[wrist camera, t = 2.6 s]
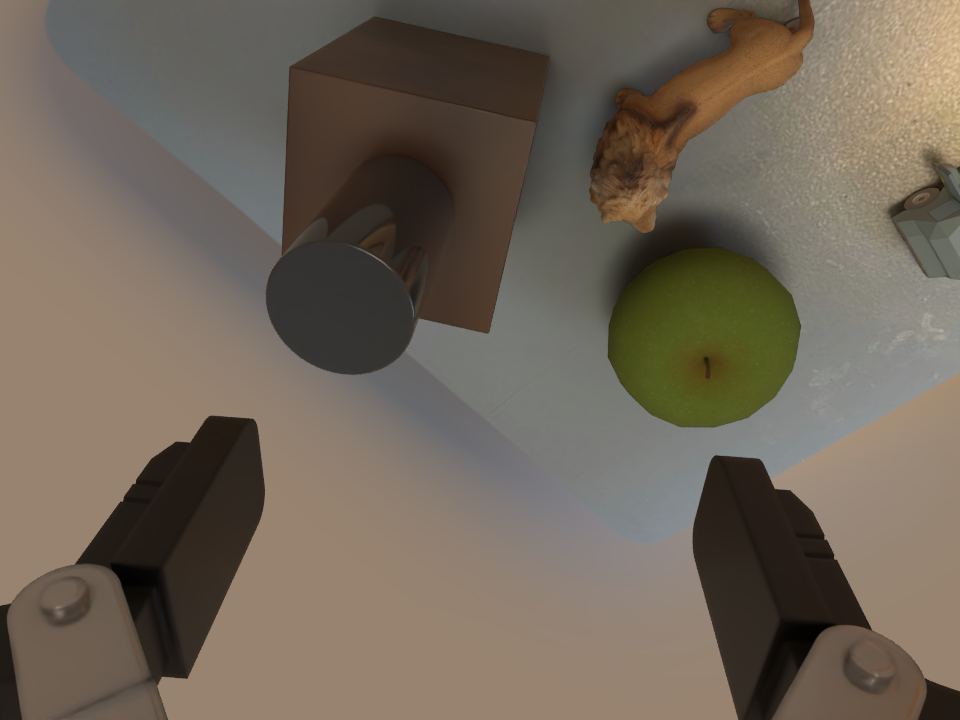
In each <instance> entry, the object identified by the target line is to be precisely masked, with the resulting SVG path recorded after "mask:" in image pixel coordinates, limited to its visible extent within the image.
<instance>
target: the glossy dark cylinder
mask: <svg viewBox="0 0 960 720" xmlns="http://www.w3.org/2000/svg"><path fill="white" fill-rule="evenodd" d="M454 220H455V211H454V205H453V201H452V198H451V195H450V193H449V191H448V189H447V187H446V185H445V184H444V182H443V181H442V180H441V178H440V177H439V176H438V175H437V174H436V173H435V172H434V171H433V170H431V169H430V168H429V167H428V166H426V165H424V164H423V163H421V162H419V161H417V160H415V159H412V158H409V157H405V156H400V155H382V156H378V157H374V158H371V159H369V160H367V161H365V162H363V163H362V164H360V165H359V166H358V167H356V168H355V169H354V170H353V171H352V173H351V174H350V175H349V176H348V177H347V178H346V180H345V181H344V182H343V183H342V185H341V186H340V187H339V188H338V189H337V191H336V192H335V193H334V194H333V195H332V197H331V198H330V199H329V200H328V201H327V203H326V204H325V205H324V206H323V207H322V209H321V210H320V211H319V212H318V214H317V215H316V216H315V217H314V218H313V220H312V221H311V222H310V223H309V224H308V226H307V227H306V228H305V229H304V230H303V232H302V233H301V234H300V235H299V236H298V238H297V239H296V240H295V241H294V243H293V244H292V245H291V246H290V247H289V249H288V250H287V251H286V252H285V253H284V255H283V256H282V257H281V258H280V259H279V261H278V262H277V263H276V265H275V266H274V268H273V269H272V272H271V274H270V276H269V279H268V283H267V289H266V305H267V310H268V314H269V317H270V320H271V323H272V325H273V327H274V329H275V330H276V332H277V334H278V335H279V337H280V338H281V339H282V340H283V342H284V343H285V344H286V345H287V346H288V347H289V348H290V349H291V350H292V351H293V352H294V353H295V354H297V355H298V356H299V357H300V358H302V359H304V360H305V361H306V362H308V363H310V364H312V365H314V366H316V367H318V368H321V369H323V370H326V371H330V372H333V373H339V374H349V375H357V374H365V373H371V372H374V371H377V370H380V369H382V368H384V367H386V366H388V365H389V364H391V363H392V362H394V361H395V360H396V359H397V358H399V357H400V356H401V354H402V353H403V352H404V351H405V350H406V348H407V346H408V345H409V343H410V341H411V338H412V336H413V333H414V331H415V328H416V325H417V323H418V320H419V318H420V315H421V312H422V310H423V307H424V305H425V302H426V299H427V297H428V294H429V292H430V289H431V286H432V284H433V281H434V278H435V276H436V273H437V271H438V268H439V265H440V263H441V260H442V258H443V255H444V252H445V250H446V247H447V245H448V242H449V239H450V237H451V234H452V231H453V227H454Z"/></svg>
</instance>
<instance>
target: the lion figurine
mask: <svg viewBox="0 0 960 720" xmlns="http://www.w3.org/2000/svg"><path fill="white" fill-rule="evenodd" d="M798 5H799V15H800V19H795V20H793V21H791V22H789V23H788V24H787V25H785V26H784V25H782V24H779V23H777V22H774V21H772V20H768V19H764V18H756V19H755V17H756V15H755V13H754V12H753V11H740V10H734V9H730V8H720V9H716V10H714V11H712V12H711V13H710V15H709V17H708V20H707V22H708V25H709V27H710V29H711V30H712V31H713V32H714V33H720V32H723V31H725V30H727V29H729V28H730V27H732V28H731V30H730V32H729V36H730V39H731V46H730V48H729V49H728V50H726V51H725V52H723V53H721V54H719V55H716V56H713V57H711V58H708V59H705V60H703V61H700V62H698V63H695V64H693V65H691V66H690V67H688V68H686V69H685V70H683V71H682V72H680V73H679V74H678V75H676V76H675V77H674V78H672V79H671V80H669V81H668V82H666V83H665V84H664V85H663V86H661V87H660V88H659V89H658V90H657V91H656V92H655V93H654V94H653V95H652V96H643V95H642V93H640V92H638V91H637V90H634V89H622V90H621V91H619V92H618V93H617V96H616V100H615V101H616V106H617V108H619V109H620V110H621V111H619V112H618V113H617V114H616V115H615V116H614V117H613V119H612V120H611V121H609V122H607V123H606V127H605V129H604V132H603V135H602V138H601V139H599V141H598V144H597V148H596V152H595V154H594V157H593V160H594V163H593V166H592V168H591V171H590V177H591V179H592V181H591V188H590V190H589V191H590V194H591V199H590V200H591V201H592V202H593V203H594V204H596V205H597V207H598V209H599V212H600V213H602V216H601V217H602V221H603V223H609V222H611V221H613V220H615V221H621V220H623V221H625V222H628V223H630V224H631V226H633V227H634V228H635V229H637V230H639V231H640V232H650V231H652V230H653V229H654V227H655V220H656V211H655V210H656V207H657V205H658V204H659V203H660V202H661V201H662V200H664V199H665V198H666V197H667V196H668V191H667V188H668V186H669V182H670V181H671V179H672V171H673V170H674V168H675V165H676V161H677V157H678V154H679V153H680V152H681V150H682V149H683V148H684V147H685V145H686V143H687V141H688V140H689V139H691V138H693V137H694V136H696V135H698V134H699V133H701V132H703V131H704V130H706V129H707V128H709V127H710V126H711V125H713V124H714V123H715V122H716V121H718V120H719V119H720V118H721V117H723V116H724V115H725V114H726V113H727V112H728V111H729V110H730V109H731V108H732V107H734V106H735V105H736V104H737V103H739V102H740V101H741V100H743V99H744V98H746V97H748V96H751V95H754V94H757V93H761V92H765V91H769V90H773V89H776V88H778V87H780V86H781V85H783V84H784V83H785V82H786V81H787V80H788V79H790V78H791V77H792V76H793V75H794V74H795V73H796V72H797V71H798V70H799V69H800V68H801V65H802V63H803V55H802V50H803V49H804V48H805V46H806V45H807V44H808V43H809V42H810V40H811V39H812V37H813V31H814V24H815V22H814V16H813V12H812V9H811V6H810V2H809V0H798Z"/></svg>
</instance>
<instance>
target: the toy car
mask: <svg viewBox="0 0 960 720" xmlns="http://www.w3.org/2000/svg"><path fill="white" fill-rule="evenodd" d="M932 164H933V165H934V167H935V169H936V171H937V173H938V175H939V177H940V178H941V180H942V182H943V184H944V187H943V189H942V190H941V192H940V190H939V189H937V188H927V189H923V190H921V191H918V192H916V193H915V194H913V195H912V196H910V197H909V198H908V199H907V200H906V201H905V203H904V209H905V211H903V212H901V213H899V214H897V215H896V216H894V217H892V220H893V222H894V223H895V225H896V227H897V229H898V230H899V232H900V234H901V235H902V237H903V239H904V241H905V242H906V244H907V246H908V247H909V249H910V251H911V253H912V254H913V256H914V258H915V259H916V261H917V263H918V265H919V266H920V268H921V270H922V271H923V273H924V274H925V275H926V276H927V277H928V278H937V277H948V278H950V279H957V280H960V171H959V172H958V170H957V169H956V168H955V167H954V166H952V165H951V164H943V163H935V162H932Z"/></svg>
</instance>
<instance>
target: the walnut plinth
mask: <svg viewBox="0 0 960 720" xmlns="http://www.w3.org/2000/svg"><path fill="white" fill-rule="evenodd" d="M549 59H550V57H549V56H547V55H542V54H538V53H533V52H529V51H525V50H520V49H516V48H511V47H507V46H502V45H498V44H494V43H489V42H485V41H480V40H476V39H471V38H467V37H463V36H458V35H454V34H449V33H445V32H440V31H436V30H431V29H427V28H423V27H418V26H414V25H409V24H405V23H400V22H396V21H392V20H387V19H383V18H378V17H373V18H371V19H370V20H368V21H366V22H364V23H363V24H361V25H359V26H358V27H356V28H354V29H353V30H351V31H349V32H348V33H346V34H344V35H342V36H341V37H339V38H337V39H336V40H334V41H332V42H331V43H329V44H327V45H326V46H324V47H322V48H320V49H319V50H317V51H315V52H314V53H312V54H310V55H309V56H307V57H305V58H304V59H302V60H300V61H298V62H297V63H295V64H293V65H292V66H290V70H289V94H288V117H287V141H286V165H285V189H284V212H283V236H282V256H283V255H284V253H285V252H286V251H287V250H288V249H289V247H290V246H291V245H292V244H293V243H294V241H295V240H296V239H297V238H298V236H299V235H300V234H301V233H302V232H303V230H304V229H305V228H306V227H307V226H308V224H309V223H310V222H311V221H312V220H313V218H314V217H315V216H316V215H317V214H318V212H319V211H320V210H321V209H322V207H323V206H324V205H325V204H326V203H327V201H328V200H329V199H330V198H331V197H332V195H333V194H334V193H335V192H336V191H337V189H338V188H339V187H340V186H341V185H342V183H343V182H344V181H345V180H346V178H347V177H348V176H349V175H350V174H351V173H352V171H353V170H354V169H355V168H356V167H358V166H359V165H360V164H362V163H363V162H365V161H367V160H369V159H371V158H374V157H378V156H382V155H400V156H405V157H409V158H412V159H415V160H417V161H419V162H421V163H423V164H424V165H426V166H428V167H429V168H430V169H431V170H433V171H434V172H435V173H436V174H437V175H438V176H439V177H440V178H441V180H442V181H443V182H444V184H445V185H446V187H447V189H448V191H449V193H450V195H451V198H452V201H453V205H454V211H455V220H454V227H453V231H452V234H451V237H450V239H449V242H448V245H447V247H446V250H445V252H444V255H443V258H442V260H441V263H440V265H439V268H438V271H437V273H436V276H435V278H434V281H433V284H432V286H431V289H430V292H429V294H428V297H427V299H426V302H425V305H424V307H423V310H422V312H421V315H420V319H424V320H429V321H433V322H438V323H442V324H447V325H451V326H456V327H460V328H465V329H469V330H474V331H478V332H483V333H489V331H490V327H491V322H492V318H493V313H494V309H495V305H496V300H497V296H498V292H499V287H500V283H501V279H502V274H503V270H504V265H505V261H506V257H507V252H508V248H509V244H510V239H511V235H512V230H513V226H514V222H515V217H516V213H517V209H518V204H519V200H520V196H521V191H522V187H523V182H524V178H525V174H526V169H527V165H528V161H529V156H530V152H531V147H532V143H533V139H534V134H535V130H536V126H537V121H538V116H539V111H540V105H541V100H542V95H543V90H544V85H545V80H546V75H547V70H548V65H549Z"/></svg>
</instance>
